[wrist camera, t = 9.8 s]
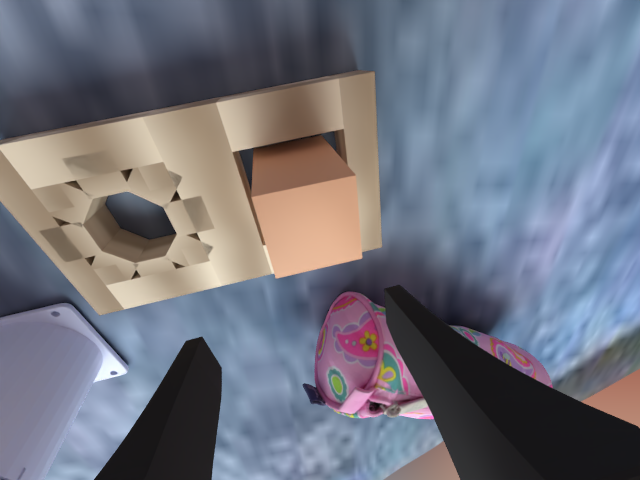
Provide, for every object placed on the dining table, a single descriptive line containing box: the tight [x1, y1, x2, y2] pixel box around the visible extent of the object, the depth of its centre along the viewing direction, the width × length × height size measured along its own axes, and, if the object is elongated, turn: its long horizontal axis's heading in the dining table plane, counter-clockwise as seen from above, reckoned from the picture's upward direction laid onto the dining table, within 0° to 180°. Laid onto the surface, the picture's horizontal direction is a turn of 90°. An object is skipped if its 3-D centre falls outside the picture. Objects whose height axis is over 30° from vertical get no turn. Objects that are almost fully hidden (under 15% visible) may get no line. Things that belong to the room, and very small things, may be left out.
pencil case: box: [303, 291, 553, 419], centre depth 25 cm, size 21×9×9 cm, turn 60°
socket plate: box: [0, 70, 382, 315], centre depth 16 cm, size 18×10×2 cm, turn 99°
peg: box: [251, 135, 362, 278], centre depth 15 cm, size 4×4×7 cm
